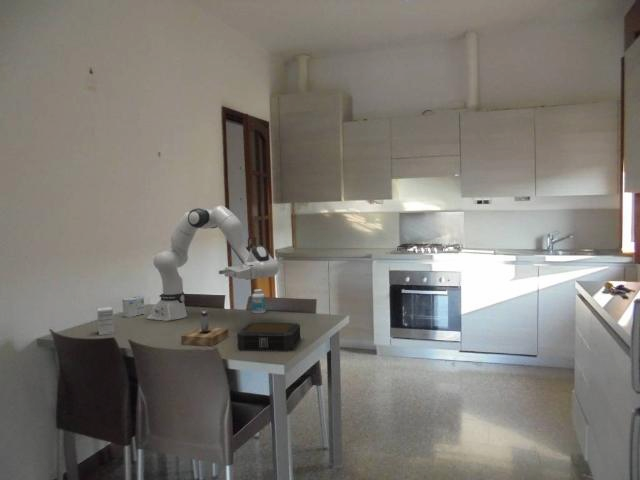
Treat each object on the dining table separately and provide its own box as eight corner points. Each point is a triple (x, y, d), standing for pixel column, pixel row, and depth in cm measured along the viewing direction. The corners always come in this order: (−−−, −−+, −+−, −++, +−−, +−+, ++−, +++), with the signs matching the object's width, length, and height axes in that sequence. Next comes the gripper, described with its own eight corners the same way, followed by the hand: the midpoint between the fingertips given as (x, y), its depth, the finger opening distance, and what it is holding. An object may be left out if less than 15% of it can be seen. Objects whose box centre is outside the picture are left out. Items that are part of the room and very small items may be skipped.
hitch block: (181, 344, 227) (180, 335, 227) (199, 335, 242) (198, 327, 242) (212, 346, 223) (212, 337, 222) (228, 336, 238) (228, 328, 238)
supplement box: (98, 332, 254) (97, 308, 253) (114, 330, 257) (112, 306, 256) (98, 335, 248) (96, 310, 247) (114, 333, 250) (112, 309, 249)
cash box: (236, 351, 215) (235, 333, 214) (250, 338, 235) (249, 322, 234) (291, 352, 211) (290, 334, 210) (301, 338, 231) (300, 322, 230)
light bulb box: (138, 313, 296) (137, 295, 295) (145, 314, 292) (144, 296, 291) (122, 316, 287) (121, 298, 286) (129, 318, 283) (128, 299, 282)
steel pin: (199, 341, 231) (197, 312, 230) (203, 338, 235) (202, 310, 234) (207, 341, 230) (205, 312, 229) (211, 339, 234) (210, 310, 233)
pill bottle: (260, 310, 292) (259, 288, 291) (268, 312, 287) (267, 289, 286) (250, 312, 287) (249, 290, 286) (257, 314, 282) (256, 291, 281)
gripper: (241, 262, 257) (215, 265, 251) (255, 266, 240) (228, 269, 233) (241, 274, 258) (215, 277, 251) (256, 279, 240) (228, 282, 233)
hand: (221, 273), depth 242 cm, fingers open, 8 cm apart
